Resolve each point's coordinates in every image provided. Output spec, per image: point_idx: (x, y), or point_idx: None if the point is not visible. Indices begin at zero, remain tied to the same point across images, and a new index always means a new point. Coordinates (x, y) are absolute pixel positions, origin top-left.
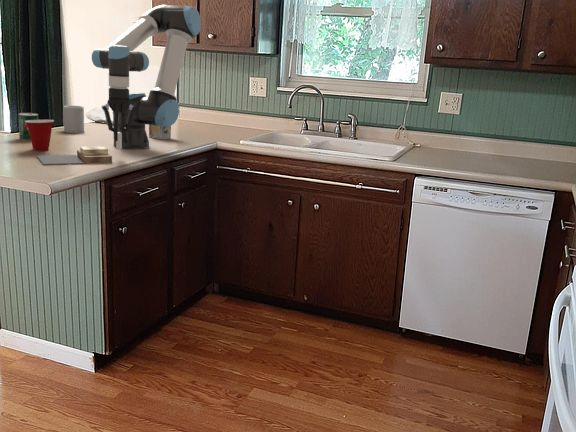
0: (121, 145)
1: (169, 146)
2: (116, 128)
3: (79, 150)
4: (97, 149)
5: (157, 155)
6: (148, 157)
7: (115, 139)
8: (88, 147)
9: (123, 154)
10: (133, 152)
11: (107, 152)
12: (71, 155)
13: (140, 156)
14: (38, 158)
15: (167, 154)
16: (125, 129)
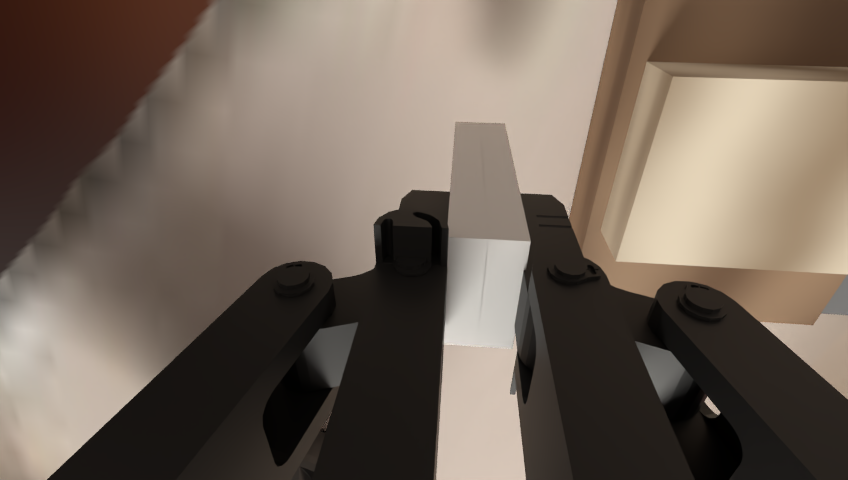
0: (458, 142)
1: (63, 445)
2: (580, 318)
3: (803, 308)
4: (831, 79)
5: (113, 225)
6: (188, 157)
7: (547, 205)
8: (840, 228)
9: None
10: None
11: (663, 66)
12: (837, 290)
13: (256, 209)
14: None
15: (37, 248)
16: (345, 307)
